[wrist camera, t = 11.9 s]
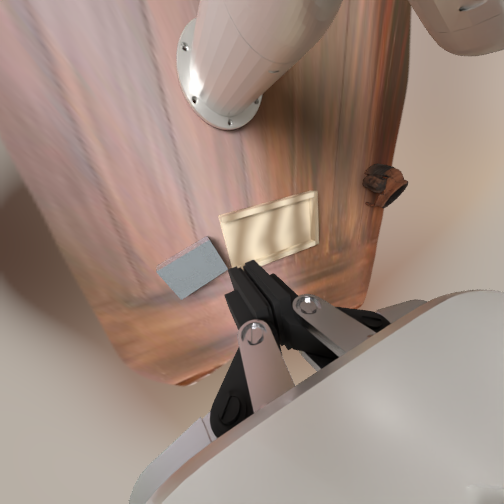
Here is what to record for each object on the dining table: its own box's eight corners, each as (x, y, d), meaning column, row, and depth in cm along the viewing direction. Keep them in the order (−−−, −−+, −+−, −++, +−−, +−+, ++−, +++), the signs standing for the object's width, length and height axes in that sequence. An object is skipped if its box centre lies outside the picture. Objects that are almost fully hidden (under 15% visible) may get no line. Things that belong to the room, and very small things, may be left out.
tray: (310, 190, 40) (317, 191, 38) (312, 241, 45) (318, 243, 43) (218, 215, 33) (221, 217, 31) (232, 271, 38) (235, 275, 36)
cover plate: (206, 235, 34) (209, 239, 32) (223, 263, 37) (228, 269, 35) (156, 264, 32) (156, 271, 30) (180, 291, 36) (181, 299, 33)
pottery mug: (386, 162, 47) (417, 178, 43) (360, 195, 53) (385, 212, 49) (367, 155, 40) (403, 173, 36) (339, 195, 46) (367, 214, 42)
